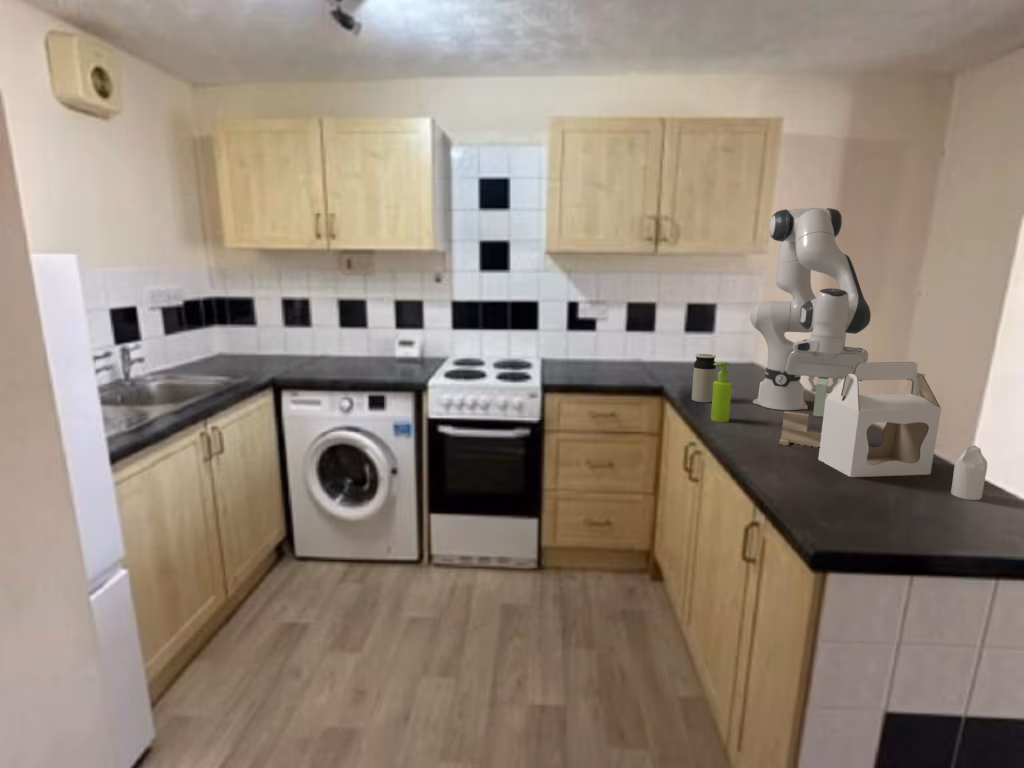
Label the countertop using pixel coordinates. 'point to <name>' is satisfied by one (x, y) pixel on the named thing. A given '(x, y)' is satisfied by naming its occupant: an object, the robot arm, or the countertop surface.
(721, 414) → the soap dispenser
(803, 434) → the wooden peg bench
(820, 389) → the grey-green rectangular slab
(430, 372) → the countertop surface
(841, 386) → the gable box
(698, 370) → the travel mug
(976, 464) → the white plastic bottle
